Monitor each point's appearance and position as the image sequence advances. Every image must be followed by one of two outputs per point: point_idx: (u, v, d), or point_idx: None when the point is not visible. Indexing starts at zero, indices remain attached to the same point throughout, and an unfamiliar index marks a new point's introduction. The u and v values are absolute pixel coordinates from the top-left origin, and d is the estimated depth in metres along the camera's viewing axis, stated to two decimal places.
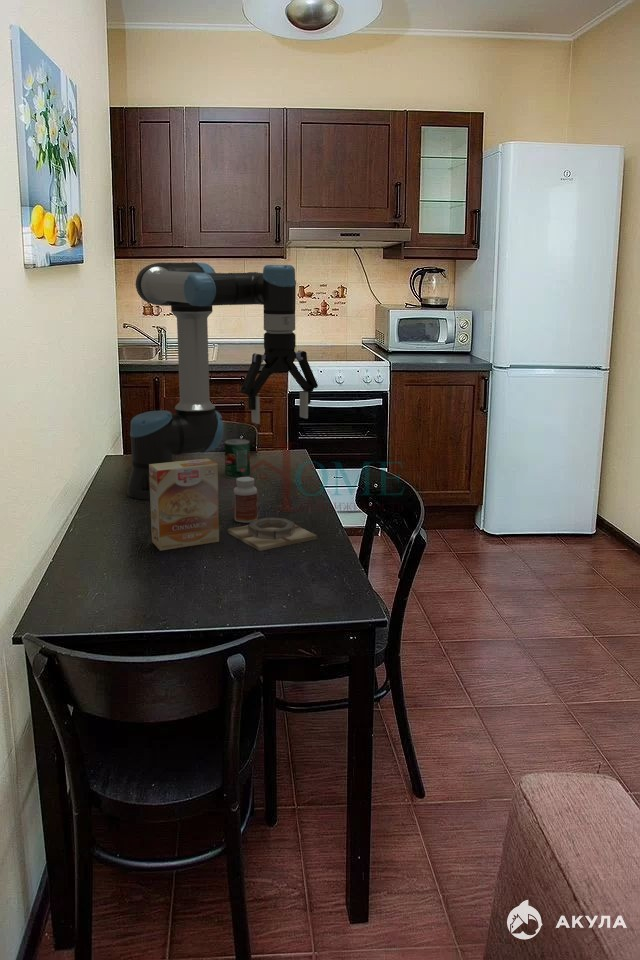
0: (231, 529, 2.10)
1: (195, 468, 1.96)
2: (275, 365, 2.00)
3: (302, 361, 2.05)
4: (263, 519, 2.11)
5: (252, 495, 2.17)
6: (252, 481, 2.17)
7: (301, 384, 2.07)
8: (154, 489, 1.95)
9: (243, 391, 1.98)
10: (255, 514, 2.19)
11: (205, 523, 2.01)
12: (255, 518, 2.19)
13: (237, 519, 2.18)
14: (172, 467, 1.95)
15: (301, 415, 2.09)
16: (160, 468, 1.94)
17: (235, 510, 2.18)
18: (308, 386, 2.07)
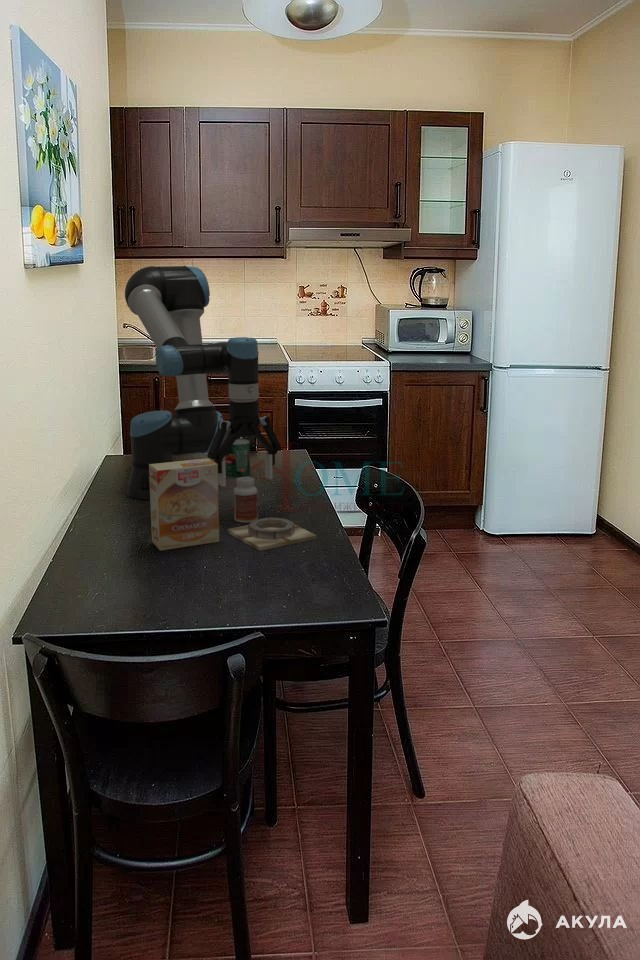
0: (231, 529, 2.10)
1: (195, 468, 1.96)
2: (240, 431, 2.12)
3: (266, 426, 2.17)
4: (263, 519, 2.11)
5: (252, 495, 2.17)
6: (252, 481, 2.17)
7: (265, 447, 2.19)
8: (154, 489, 1.95)
9: (209, 456, 2.10)
10: (255, 514, 2.19)
11: (205, 523, 2.01)
12: (255, 518, 2.19)
13: (237, 519, 2.18)
14: (172, 467, 1.95)
15: (266, 476, 2.22)
16: (160, 468, 1.94)
17: (235, 510, 2.18)
18: (272, 449, 2.19)
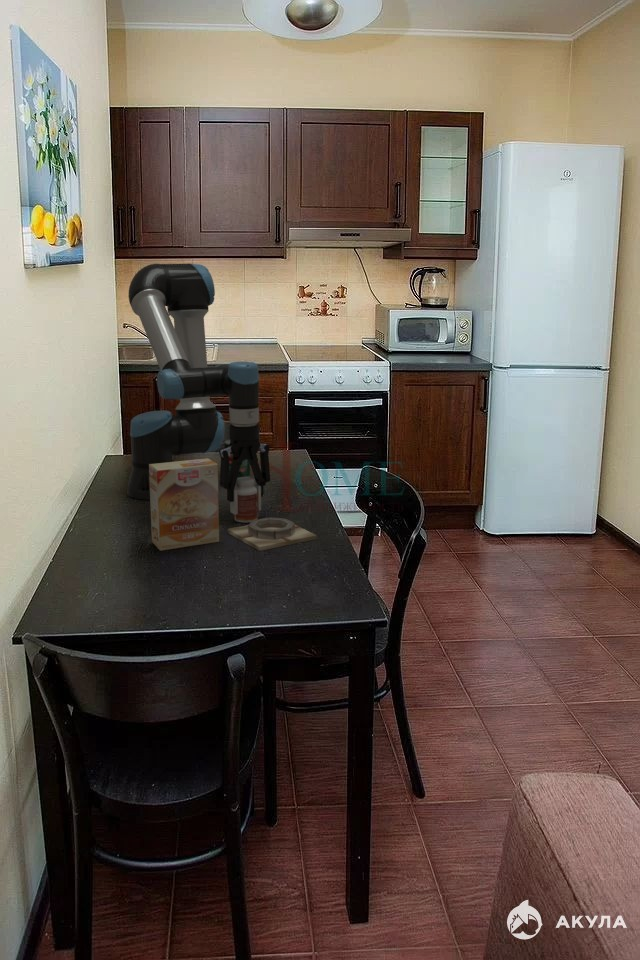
0: (231, 529, 2.10)
1: (195, 468, 1.96)
2: (242, 456, 2.14)
3: (263, 453, 2.19)
4: (263, 519, 2.11)
5: (252, 495, 2.17)
6: (252, 481, 2.17)
7: (256, 476, 2.19)
8: (154, 489, 1.95)
9: (222, 485, 2.14)
10: (255, 514, 2.19)
11: (205, 523, 2.01)
12: (255, 518, 2.19)
13: (237, 519, 2.18)
14: (172, 467, 1.95)
15: None
16: (160, 468, 1.94)
17: None
18: (262, 480, 2.19)
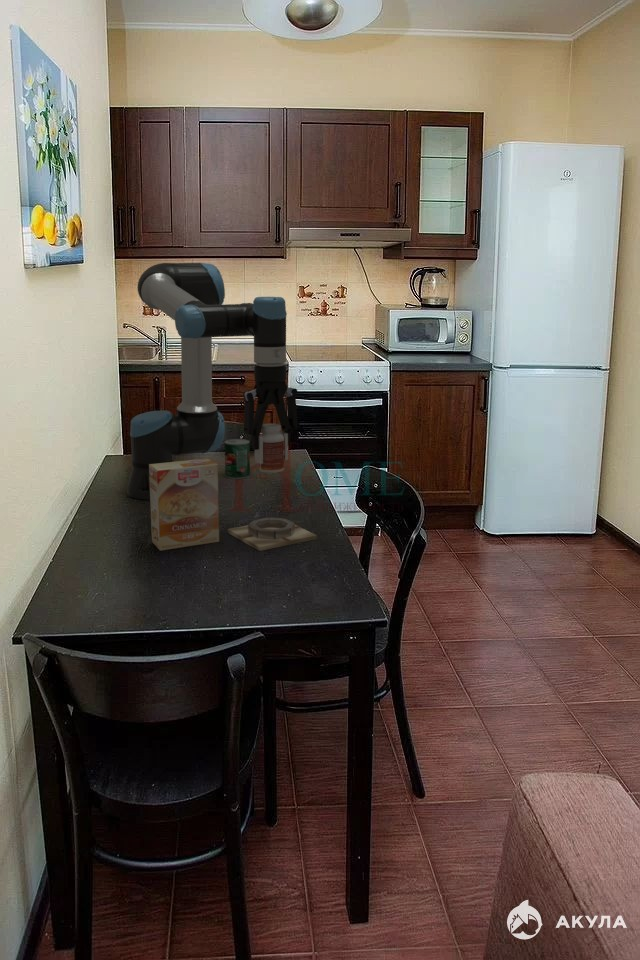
0: (231, 529, 2.10)
1: (195, 468, 1.96)
2: (268, 399, 1.97)
3: (290, 398, 2.02)
4: (263, 519, 2.11)
5: (279, 443, 2.00)
6: (279, 427, 2.00)
7: (282, 423, 2.02)
8: (154, 489, 1.95)
9: (246, 431, 1.97)
10: (282, 463, 2.02)
11: (205, 523, 2.01)
12: (282, 468, 2.02)
13: (262, 469, 2.01)
14: (172, 467, 1.95)
15: None
16: (160, 468, 1.94)
17: None
18: (289, 427, 2.02)
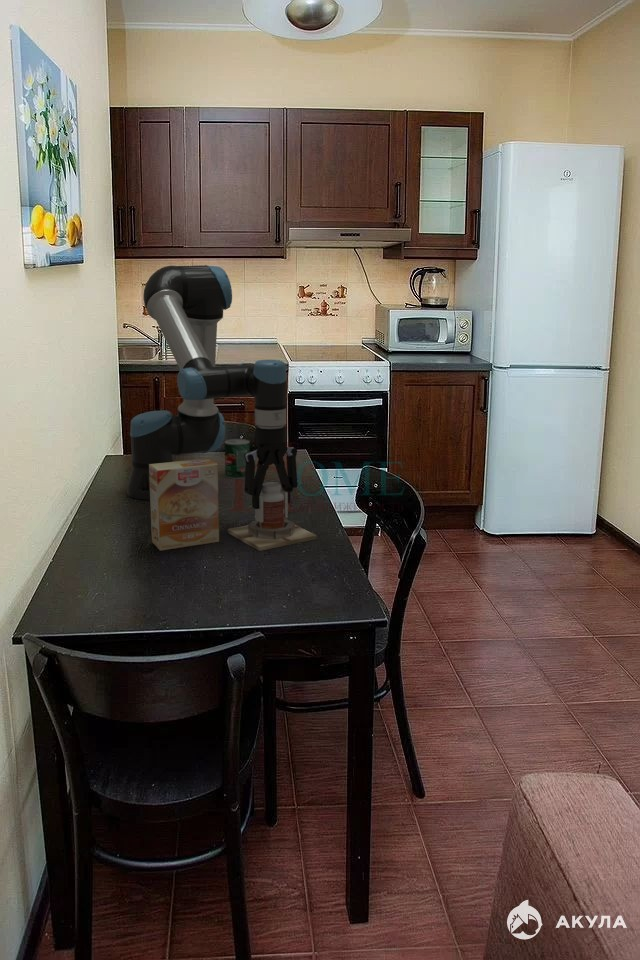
0: (231, 529, 2.10)
1: (195, 468, 1.96)
2: (268, 460, 2.01)
3: (290, 457, 2.05)
4: None
5: (279, 502, 2.04)
6: (279, 487, 2.04)
7: (282, 482, 2.06)
8: (154, 489, 1.95)
9: (247, 491, 2.01)
10: (282, 522, 2.06)
11: (205, 523, 2.01)
12: (282, 526, 2.06)
13: (263, 527, 2.05)
14: (172, 467, 1.95)
15: None
16: (160, 468, 1.94)
17: None
18: (289, 486, 2.06)
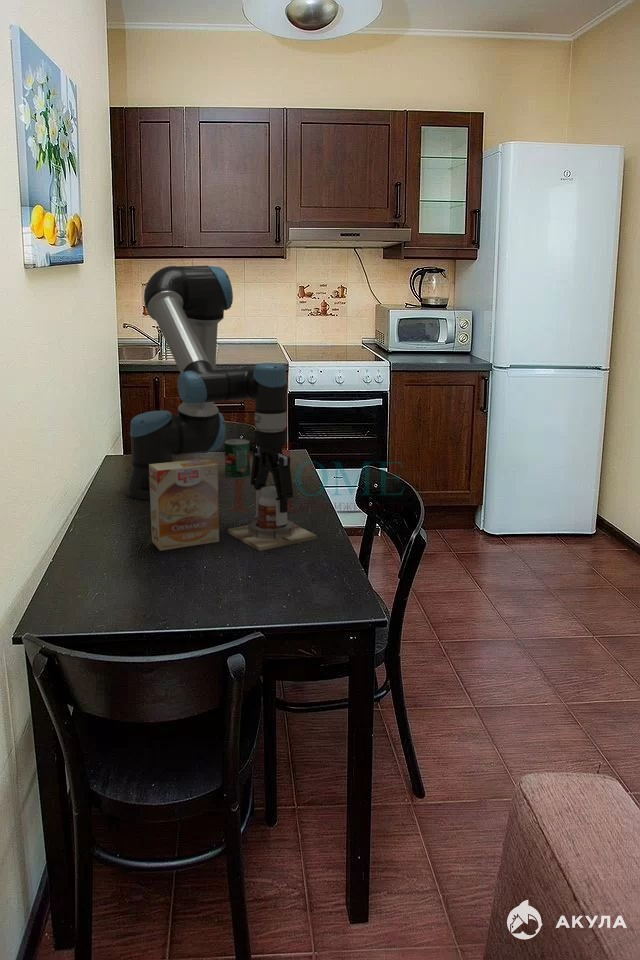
0: (231, 529, 2.10)
1: (195, 468, 1.96)
2: (260, 460, 2.04)
3: None
4: None
5: (260, 506, 2.04)
6: (265, 492, 2.03)
7: None
8: (154, 489, 1.95)
9: None
10: (264, 527, 2.05)
11: (205, 523, 2.01)
12: None
13: None
14: (172, 467, 1.95)
15: None
16: (160, 468, 1.94)
17: None
18: (278, 494, 2.00)
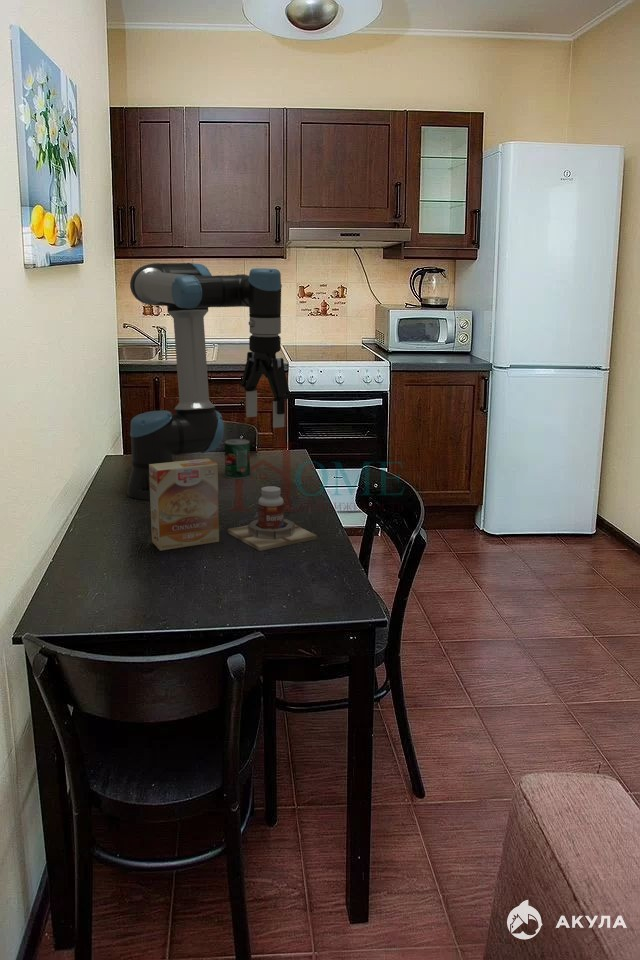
0: (231, 529, 2.10)
1: (195, 468, 1.96)
2: (254, 365, 2.06)
3: None
4: None
5: (260, 506, 2.04)
6: (265, 492, 2.03)
7: None
8: (154, 489, 1.95)
9: None
10: (264, 527, 2.05)
11: (205, 523, 2.01)
12: None
13: None
14: (172, 467, 1.95)
15: None
16: (160, 468, 1.94)
17: None
18: (275, 395, 2.00)
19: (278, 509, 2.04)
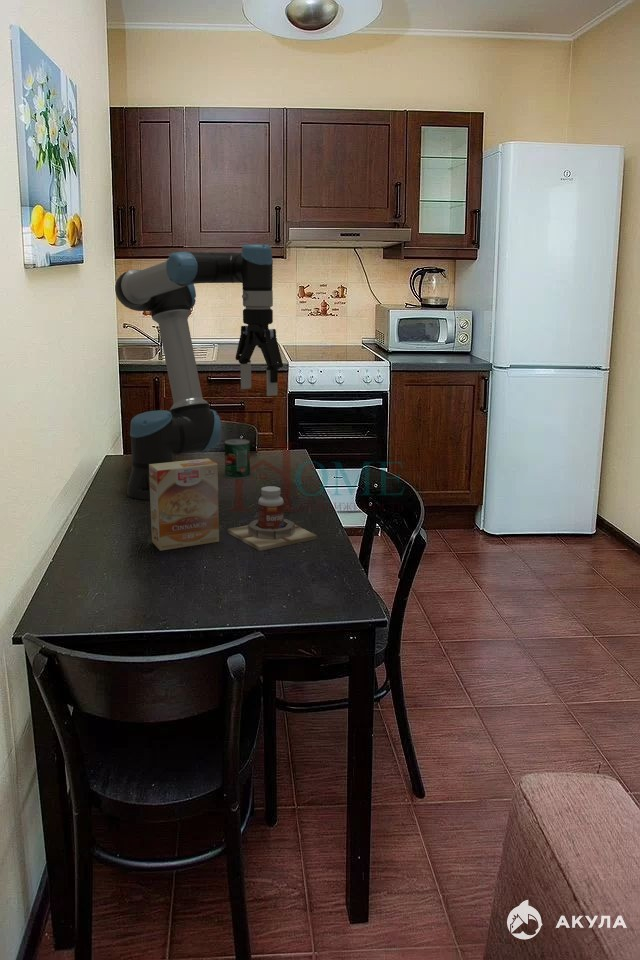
0: (231, 529, 2.10)
1: (195, 468, 1.96)
2: (248, 338, 2.16)
3: None
4: None
5: (260, 506, 2.04)
6: (265, 492, 2.03)
7: None
8: (154, 489, 1.95)
9: None
10: (264, 527, 2.05)
11: (205, 523, 2.01)
12: None
13: None
14: (172, 467, 1.95)
15: None
16: (160, 468, 1.94)
17: None
18: (268, 364, 2.10)
19: (278, 509, 2.04)
